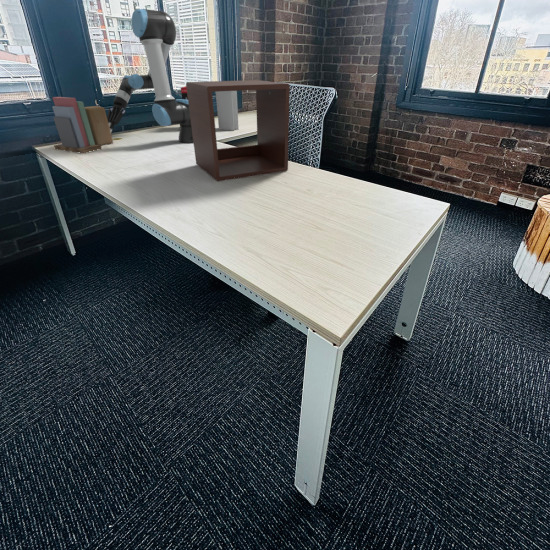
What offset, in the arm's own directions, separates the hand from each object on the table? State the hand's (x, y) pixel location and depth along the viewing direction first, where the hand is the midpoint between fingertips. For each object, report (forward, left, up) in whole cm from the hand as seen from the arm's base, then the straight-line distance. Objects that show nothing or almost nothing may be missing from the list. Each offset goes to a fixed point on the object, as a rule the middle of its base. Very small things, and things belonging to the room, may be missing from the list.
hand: (107, 133), depth 205 cm
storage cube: (-105, +16, -5) cm, 107 cm away
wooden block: (-2, +7, -5) cm, 9 cm away
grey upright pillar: (-45, -68, -5) cm, 82 cm away
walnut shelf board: (-1, +23, -5) cm, 24 cm away
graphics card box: (-20, -59, -5) cm, 62 cm away
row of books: (-1, +23, -3) cm, 23 cm away
